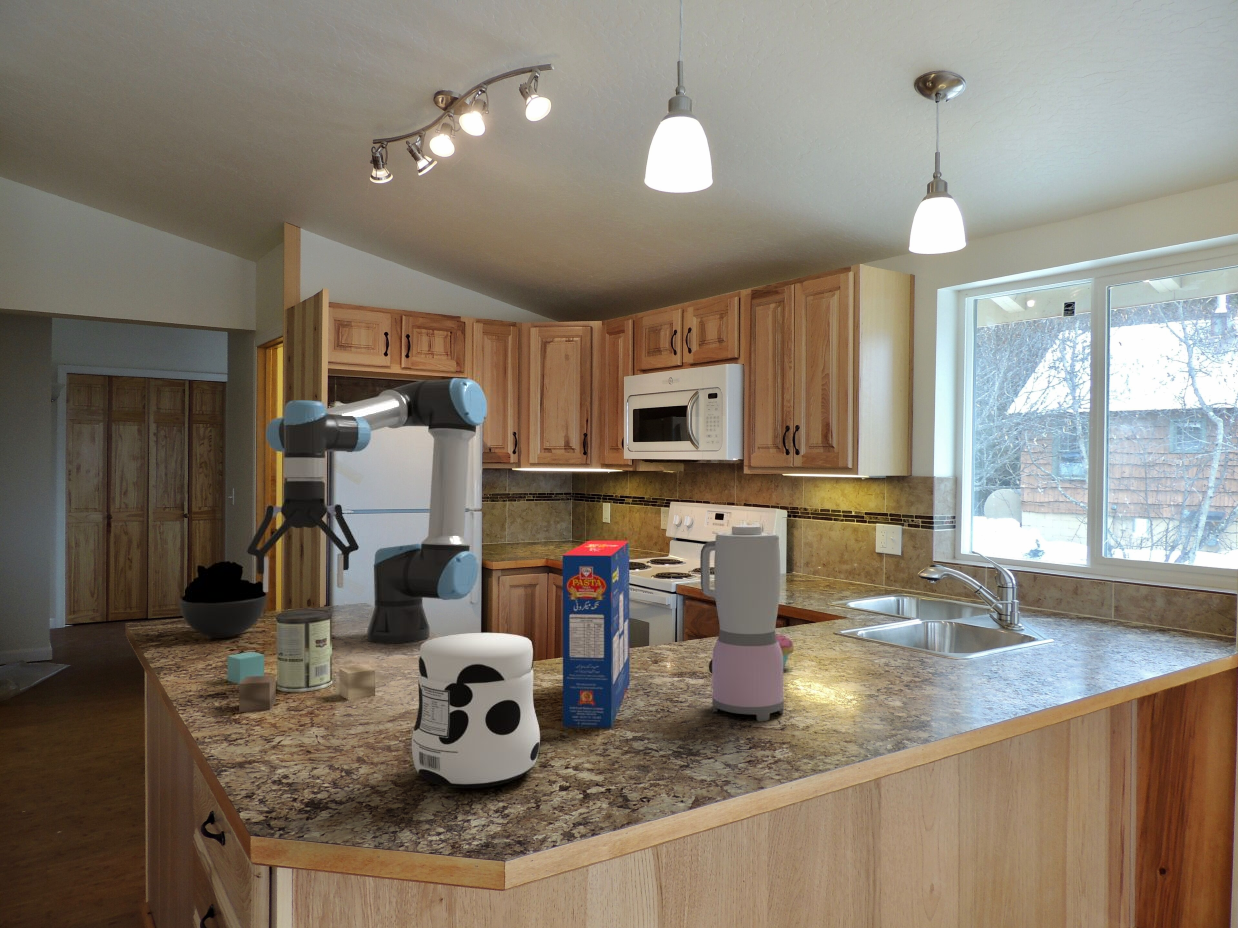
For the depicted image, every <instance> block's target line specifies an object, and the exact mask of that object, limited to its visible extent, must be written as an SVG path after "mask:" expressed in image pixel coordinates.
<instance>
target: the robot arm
mask: <svg viewBox="0 0 1238 928" xmlns="http://www.w3.org/2000/svg"><path fill="white" fill-rule="evenodd" d="M487 413H488V404H487V398H486V395H485V393H484V391H483V389H482V387H481V386H480V385H479V383H477V382H476V381H475V380H473V379H471V378H460V377H458V378H457V377H454V378H445V379H443V378H442V379H431V380H430V379H429V380H427V379H426V380H418V381H414V382H411V383H408V384H404V385H401V386H398V387H394V388H390V389H386V390H384V391H382V392H381V393H379V395H378V396H374V397H371V398H367V399H362V400H359V401H354V402H350V403H349V402H348V403H345V404H341V405H337V406H332V407H329V408H326V404H325V403H324V402H322V401H319V400H304V399H301V400H290V401H288V402H287V403H286V404H285V408H284V416H281V417H276V418H273V419H272V420H271V421H270V422H268V424H267V427H266V431H265V436H266V441H267V444H268V446H269V447H270V448H271V449H272V450H274V451H276V452H279V453H284V454H283V455H284V456H283V457H284V459H283V477H284V479H287V480H286V481H284V482H283V502H282V506H275V505H272V504H268V505H266V507H265V513H264V517H263V519H262V520H261V523H260V524H259V526H258V528H257V530H256V531H255V533H254V536H253V538H252V539H251V541H250V543H249V545H248V546H247V548H246V553H247V554H248V555H250V556H251V555H252V556H254V557H256V572H257V574H258V575H263V576H262V583H263V591H264V592H266V593H269V570H270V569H269V564H270V562H269V560H270V559H269V556H266V554H267V553H268V552H269V551H270V550H271V549H272V548H273V546H274V545H276V543H277V542H278V541H279V540H280V539H281V538H282V536H283V535H285V533H286V532H287V531H288V530H289V529H290V528H291V527H292V528H294V529H302V528H307V529H313V528H315V527H316V526H317V528H319V529H320V530H321V531H322V532H323V533H324V535H326V536H327V537H328V538H329V540H330V541H331V542H332V543H333V544H334V545H335V546H336V548H338V550H339V551H340V552H341V553H337V556H336V557H337V559H336V561H337V563H336V565H337V567H336V568H337V569H336V571H337V573H336V587H337V588H339V589H343V588H344V571H348V570H349V568H350V554H351V553H353V552H355V551H358V550H359V548H360V547H359V545H358V543H357V541H356V539H355V537H354V534H353V533H352V531H351V529H350V527H349V525H348V523H347V521H346V519H345V517H344V515H343V507H342V505H341V504H337V503H336V504H333V505H327V504H326V501H325V500H326V482H324V481H323V479H325V477H326V452H346V453H353V452H354V453H355V452H361V451H364V449H366V448H367V447H368V445H369V443H370V441H371V437H372V432H373V431H377V430H379V429H384V428H389V429H399V428H403V427H427V428H428V429H427V432H428V433H429V434H430V436H431V437H432V438H433V448H432V449H433V450H432V451H433V452H432V453H433V454H432V466H431V467H432V469H431V482H430V483H431V484H430V500H429V502H430V503H429V517H428V518H429V519H428V533H427V534H428V535H427V537H426V538H425V539H423V540H422V541H421V543H414V544H413V543H412V544H404V545H396V546H390V547H389V546H388V547H381V548H378V549H377V550H376V552H375V554H374V564H373V580H374V581H373V582H374V583H373V584H374V585H373V588H374V590H373V591H374V592H373V593H374V597H373V598H374V609H373V611H372V613H371V614H372V615H371V618H370V621H369V623H368V627H367V630H366V640H367V641H369V642H373V643H376V644H377V643H378V644H401V643H402V644H404V643H413V642H417V641H422V640H426V639H428V638H429V637H430V636H431V635H430V634H431V633H430V632H431V631H430V630H431V629H430V624H429V621H428V617H427V615H426V613H425V612H426V611H425V609H424V606H423V605H424V604H423V603H424V602H423V598H424V599H438V600H442V601H450V600H453V601H455V600H461V599H463V598H465V597H467V596H468V595H469V594H470V593H471V591H472V590H473V589H474V587H475V585H476V583H477V580H478V577H479V561H478V559H477V556H476V555H475V554H474V553H473V552H471V551H470V550H471V549H470V547H471V545H470V542H469V541H467V540H466V539H465V525H466V508H467V506H466V504H467V490H468V489H467V487H468V484H467V483H468V470H469V469H468V468H469V453H470V452H469V450H470V449H469V448H470V441H471V439H473V438H474V437H476V434H477V427H478V426H480V425H481V424H483V423H484V422H485V419H486V417H487ZM328 512H329V513H330V515H331V516H332V517H334V518H335V520H336V522H337V524H338V526H339V528H340V530H341V532H342V534H343V536H344V538H345V540H346V541H347V544H348V545H346V544H344V542H343V541H342V539H340V538H339V536H338V535H336V533H335V532H334V531H333V530H332V529H331V528H330V527H329V526H328V524H327V523H326V522H325V521H324V519H323V518H324V517H325V516H326V514H327V513H328ZM280 513H281V515H282V516H283V517H284V518H285V520H284V521H283V523H281V525H280V526H279V527H278V528H277V529H276V530H275V531H274V532H273V534H272V535H271V536H270V537H269V538H268V539H267V541H265V543H264V544H263V545H262V546H261V547H260V548H259V549H258V545H259V544H260V542H261V540H262V539H263V537H264V535H265V533H266V531H267V530H268V528H269V525H270V524H271V522H272V520H273V518H275V517H277V515H278V514H280Z"/></svg>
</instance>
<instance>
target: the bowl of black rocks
mask: <svg viewBox="0 0 1238 928" xmlns="http://www.w3.org/2000/svg"><path fill="white" fill-rule="evenodd" d="M196 568H197V569H196V571H197V577H195V578H194V579H193V580H192V582H190V583H189V586H186V587H185V589H184V595H183V597H182V598H180V599H179V601H178V605H179V606H178V607H179V609H180V613H181V615H182V617H183V619H184V621H185V623H187V624H188V626H189V627H190V628H192V629H193V630H194V631H195V632H198V633H199V634H201V635H204V636H206V637H209V638H210V637H211V638H214V639H225V638H231V637H235V636H239V635H240V634H242V633H244V632H246V631H248V630H249V629H250V628H252V627H253V626H254V625H255V624H256V623H257V622H258V621H259V619H260V618H261V617H262V615H263V613H264V611H265V609H266V606H267V601H268V594H267V592H264V591H263V581H259V580H258V581H256V582H254V583H253V582H251V581H249V580H248V579H242V576H243V573H244V570H243V568H244V566H242V565H241V564H238V563H236V562H235V561H232V562H231V560H226V561H219V562H215V563H213V564H212V565H209V566H208V567H207V568H206V567H205V566H204V565H197V567H196Z"/></svg>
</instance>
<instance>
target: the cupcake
mask: <svg viewBox="0 0 1238 928" xmlns="http://www.w3.org/2000/svg"><path fill="white" fill-rule="evenodd" d="M775 634H776V638H777V641H778V643H779V645H780V647H781V650H782V654H783V670H784V669H785V668H786V663H787V661H788V658H789V655H791V654H793V652H794V650H795V649H794V642H793V641H792V640H791V639H790V638H788V637H787V636H785V635H783V634H778V633H775Z"/></svg>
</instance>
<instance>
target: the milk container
mask: <svg viewBox="0 0 1238 928" xmlns="http://www.w3.org/2000/svg"><path fill="white" fill-rule="evenodd" d="M534 663H535V662H534V649H533V644H532V641H531V640H530V639H529V638H528V637H526V636H522V635H520V634H519V635H518V634H511V633H501V632H499V633H498V632H471V633H470V632H469V633H459V634H451V635H445V636H439V637H436V638H435V637H434V638H432V639H428V640H426V641H424V642H423V643H422V644H420V648H419V656H418V672H419V673H418V677H417V682H418V709H417V711H418V712H417V715H416V716H417V717H416V720H415V724H414V727H413V730H412V731H413V732H412V737H411V754H412V759H413V766H414V767H415V770H416V772H417V774H418V775H419V776H421V777H422V778H423V779H425V780H426V781H427V782H430V783H431V784H434V785H438V786H442V787H445V788H457V789H477V788H488V787H489V788H490V787H494V786H499V785H504V784H507V783H509V782H512V781H515V780H518V779H520V778H521V777H523V776H524V775H526V773H528V772H529V771H530V770H532V769H533V768H534V766H535V764H536V761H537V760H538V756H539V752H540V750H539V749H540V743H541V734H540V726H539V722H538V718H537V715H536V709H535V707H534Z"/></svg>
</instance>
